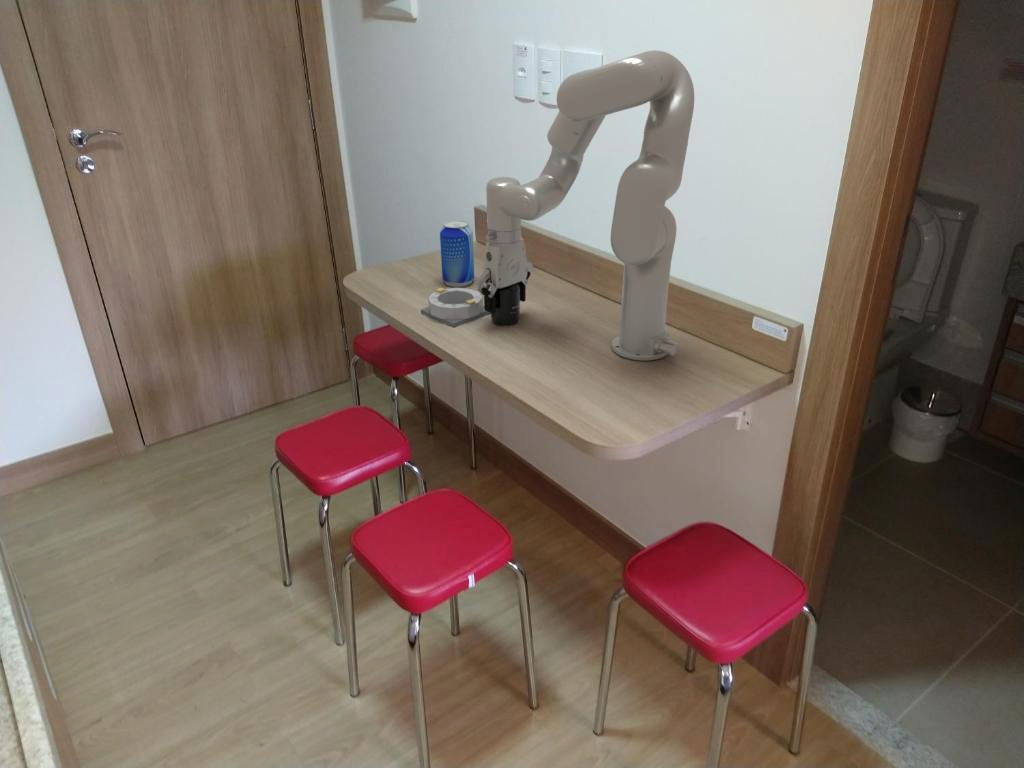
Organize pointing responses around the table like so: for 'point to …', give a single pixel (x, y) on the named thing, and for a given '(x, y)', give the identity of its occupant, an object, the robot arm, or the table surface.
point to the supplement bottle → (507, 306)
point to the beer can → (457, 253)
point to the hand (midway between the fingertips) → (505, 305)
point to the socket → (455, 306)
